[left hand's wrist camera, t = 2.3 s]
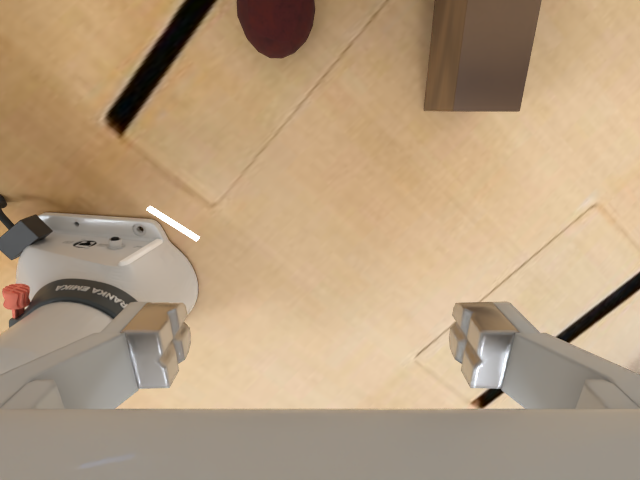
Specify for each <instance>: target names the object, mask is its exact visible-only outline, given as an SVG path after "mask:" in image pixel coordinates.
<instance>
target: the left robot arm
mask: <svg viewBox="0 0 640 480" xmlns="http://www.w3.org/2000/svg"><path fill="white" fill-rule="evenodd" d="M6 206H7V202H6V200H5V199H4V198H3V197H2V196H1V195H0V220H1V222H2V223H3V224H4V225H5V226H6V227H7V228H8V229H9V230H8V231H7V232H6V233H5V234H4V235H2V236H1V237H0V250H1V251H2V252H3V253H4V254H5V255H6V256H7V257H8V258H9V259H11V260H13V259H15V258H17V257H19V256H20V258H19V261H18V264H17V271H16V284H11V285H9V286H6V287H5V288H3V291H2V293H3V297H4V299H5V301H4V304H3V305H4V307H5V308H7V309H11V310H12V315H13V318H11V319H10V320H9V329H7V330H6V331H4V332H3V333H2V334H0V480H640V375H639V374H637V373H635V372H632V371H630V370H628V369H626V368H623V367H621V366H619V365H617V364H614V363H612V362H610V361H608V360H605V359H603V358H601V357H599V356H596V355H594V354H592V353H590V352H587V351H585V350H583V349H581V348H578V347H576V346H574V345H572V344H569V343H567V342H565V341H563V340H560V339H558V338H556V337H554V336H552V335H549V334H547V333H540V332H539V331H538V330H537V329H536V328H535V327H534V326H533V325H532V324H531V323H530V322H529V321H528V320H527V319H526V318H525V317H524V316H523V315H522V314H521V313H520V312H519V311H518V310H517V309H516V308H515V307H514V306H513V305H512V304H511V303H509V302H506V301H505V302H473V303H456V304H455V306H454V308H453V314H452V316H453V317H454V319H455V320H456V322H455V324H454V325H453V326H452V327H451V328H450V334H449V342H450V349H451V352H452V354H453V356H454V358H455V360H457V361H458V362H460V363H461V364H462V367H461V371H462V373H463V375H464V377H465V379H466V380H467V382H468V384H469V386H470V388H497V389H502V391H503V392H505V393H506V394H507V395H509V396H510V397H511V398H512V399H514V400H515V401H516V402H517V403H519V404H520V405H521V406H523V407H524V408H525V409H115V408H116V407H118V406H119V405H120V404H121V403H123V402H124V401H125V400H127V399H128V398H129V397H130V396H132V395H133V394H134V393H135V392H137V391H138V389H143V388H170V386H171V384H172V382H173V380H174V379H175V377H176V375H177V373H178V371H179V367H178V364H179V363H180V362H182V361H183V360H185V358H186V356H187V354H188V352H189V348H190V344H191V333H190V328H189V327H188V326H187V325H186V324H185V322H184V320H185V319H186V317H187V316H188V314H189V313H190V312H191V310H192V309H193V307H194V305H195V303H196V300H197V297H198V281H197V277H196V274H195V271H194V269H193V267H192V265H191V264H190V262H189V261H188V259H187V258H186V257H185V256H184V254H183V253H182V252H181V251H179V250H178V249H177V248H176V247H175V246H174V245H173V244H172V243H171V242H170V241H169V240H168V237H167V235H166V234H165V232H164V230H163V228H162V227H161V225H160V224H159V223H158V222H157V221H155V220H153V219H144V218H129V217H113V216H98V215H83V214H68V213H52V212H46V213H42V214H41V215H39V216H37V215H33V216H30V217H28V218H25V219H22V220H20V221H19V222H18V223H16V224H15V225H14V224H13V223H12V222H11V221H10V220H9V219H8V217H7V216H6V215H5V214H4V213H3V211H2V209H1V208H5V207H6ZM147 211H149V212H151V213H152V214H154V215H155V216H157V217H159V218H160V219H162V220H163V221H165V222H167V223H168V224H170V225H171V226H173V227H175V228H176V229H178V230H179V231H181V232H183V233H184V234H186V235H187V236H189V237H191V238H192V239H194V240H195V241H197V240H198V239H199V238H200V237H199V236H197V235H196V234H194V233H193V232H191V231H190V230H188V229H186V228H185V227H183V226H182V225H180V224H178V223H177V222H175V221H174V220H172V219H170V218H169V217H167V216H166V215H164V214H163V213H161V212H159V211H158V210H156V209H155V208H153V207H151V206H150V207H148V208H147ZM139 226H141V227H142V228H143V231H142V230H140V228H139Z"/></svg>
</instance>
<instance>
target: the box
mask: <svg viewBox="0 0 640 480" xmlns="http://www.w3.org/2000/svg"><path fill="white" fill-rule="evenodd" d="M540 5H541V0H435V6H434V16H433V26H432V35H431V45H430V55H429V65H428V74H427V84H426V94H425V103H424V111H520V107H521V102H522V97H523V91H524V86H525V81H526V76H527V71H528V66H529V61H530V56H531V51H532V46H533V41H534V36H535V30H536V25H537V20H538V15H539V10H540Z"/></svg>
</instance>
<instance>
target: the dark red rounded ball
mask: <svg viewBox="0 0 640 480" xmlns="http://www.w3.org/2000/svg"><path fill="white" fill-rule="evenodd" d="M314 14H315V2H314V0H237V16H238V18H239V21H240V23H241V26H242V28H243V30H244V33H245V35H246V38H247V39H248V41H249V42H250V43H251V44H252V45H253V46H254V47H255V48H256V49H257V51H258V52H260V53H262V54H264V55H266V56H267V57H269V58H284V57H286V56H288V55H290V54H293V53H295V52H296V51H297V50H298V49H299V48H300V47H301V46H302V45H303V44H304V43H305V42H306V40H307V38H308V36H309V33H310V31H311V29H312V26H313V20H314Z"/></svg>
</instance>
